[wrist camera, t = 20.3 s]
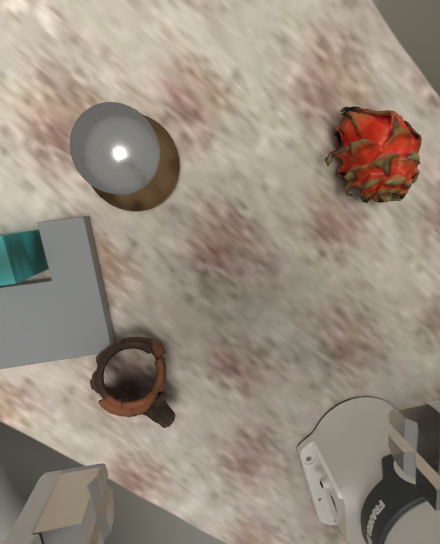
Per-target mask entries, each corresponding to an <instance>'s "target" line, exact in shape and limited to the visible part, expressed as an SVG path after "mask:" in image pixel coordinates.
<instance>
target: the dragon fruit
mask: <svg viewBox="0 0 440 544" xmlns="http://www.w3.org/2000/svg"><path fill="white" fill-rule="evenodd" d="M344 111H345V112H344ZM341 112H344V113H343V114H342V115H344V117H343V119H342V120H341V122H340V124H339V125H338V127H337V129H336V131H335V133H334V135H335V136H336V139H337V144H338V146H339V148H338V149H337V150H335V151H333V152H332V153H331V152H330V153H329V155H328V157H327V158H326V159H325V161H326V164H327V166H328V167H329V165H330V163H331V161H332V158H333V156H336V157H338V158H340V159H341V160H342V161H343V162H344V164H343V165H342V166H340V167H339V168H338V171H337V175H338V176H340V177H341V178H343V179H345V180H347V181H349V183H348V184H347V185H346V187H345V193H346V195H347V196H353V195H352V194H348V190H349V189H350V188H353V187H357V188H360V189H361V190H362V191H361V193H360V197H361V200H362V201H363V202H366V203H368V202H367V201H369V200H370V199H372V200H373V201H374V202H379V203H380V202H389V201H401V200H402V199H403V198H404V197H405V196H406V194H407V193H408V189H409V188H410V187H411V185H412V183H415V181H416V180H417V178H418V175H419V170H418V169H416V168H417V166H418V165H419V164H420V158H419V155H418V152H419V150H420V147H421V140H422V138H421V135H420V134H418V133H417V132H416V131H415V130H414V129H413V128H412V127H411V125H410V124H409V123H408V122H407V121H404V120H403V118H402V117H401V116H400V115H398V114H397V113H396V112H395V111H390V110H389V111H388V110H386V111H373V110H369V109H362V108H360V107H350V108H349V107H344V108H343V109H342V110H341ZM340 135H341V136H340ZM341 139H342V141H343V147H341V148H340V144H341ZM339 142H340V144H339ZM345 173H346V174H345Z"/></svg>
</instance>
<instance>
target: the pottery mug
mask: <svg viewBox="0 0 440 544" xmlns="http://www.w3.org/2000/svg"><path fill="white" fill-rule="evenodd" d="M132 348H133V349H134V348H135V349H140V350H143V351H145V352H147V353H148V354H150V353H152V354H153V355H154V357H155V359H156V361H155V364H156V368H157V377H156V381H155V383H154V385H153V387H152V388H151V390H150V391H149V392H148V393H147V394H146V395H145V396H143V397H141V398H139V399H136V400H121V399H119V398H117V397H115V396H114V395H113V394H112V393H111V392H110V391H109V389H108V388H107V387H105V384H104V369H105V366H106V364H107V363H108V361H109V360H110V359H111V357H112V356H114V355H115V354H116V353H118V352H120V351H122V350H125V349H132ZM164 353H166V351H165V349H164V348H163V347H162V346H161V345H160V344H159V343H158V342H157V341H153V340H152V339H151V338H145V337H128V338H123V339H121V341H120V342H118V341H116V342H114V343H113V344H111V345H110V346H109V347H107V348H106V349H105V350H104V351H103V352H101V353H100V354H99V355H98V356H97V357H96V362H97V365H98V367H97V370H96V371H95V372H94V373H93V375H92V379H91V380H90V384H91V388H92V389H93V390H95V391H96V392H97V393H99V394H100V395H101V397H102V398H103V399H102V400H100V401H99V404H100V405H101V407H102V408H103V409H105V410H106V411H108V412H109V413H112V414H114V415H118V416H126V417H132V416H137V415H141V414H144V415H146V416H147V417H149V418H150V419H152V420H153V421H154V422H156V423H158V424H160V425H161V426H162V427H163V428H166V427H169V426H170V425H171V424H172V423H173V421H174V420H175V413H174V412H173V410H172V409H171V408H170V407H169V406H168V404H167V403H166V401H165V396H166V393H165V392H164V390H163V388H164V384H165V379H166V363H165V359H164V357H163V354H164Z"/></svg>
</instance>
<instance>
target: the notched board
mask: <svg viewBox="0 0 440 544" xmlns="http://www.w3.org/2000/svg"><path fill="white" fill-rule="evenodd" d="M37 223H38V227H39V231H40V235H41V239H42V243H43V247H44V251H45V255H46V259H47V263H48V267H49V271H50V275H51V278H48V279H40V280H33V281H25V282H18V283H16V284H9V285H2V286H0V369H4V368H11V367H17V366H24V365H30V364H37V363H43V362H50V361H56V360H63V359H69V358H76V357H82V356H88V355H95V354H100V353H101V352H103V351H104V350H105V349H106V348H107V347H109V346H110V345H111V344H113V343H114V342H115V338H114V333H113V328H112V324H111V319H110V314H109V309H108V304H107V300H106V295H105V290H104V285H103V281H102V276H101V271H100V266H99V261H98V257H97V252H96V247H95V242H94V238H93V233H92V228H91V223H90V218H89V217H80V218H72V219H63V220H54V221H45V222H37Z"/></svg>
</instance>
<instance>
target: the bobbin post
mask: <svg viewBox="0 0 440 544" xmlns="http://www.w3.org/2000/svg"><path fill="white" fill-rule="evenodd" d="M70 151H71V156H72V160H73V162H74V164H75V167H76V168H77V170H78V172H79V173H80V174H81V176H82V177H83V178H84V179H85V180H86V181H87V182H88V183H89V184H91V186H92V187H93V189H94V190H95V191H96V193H97V194H98V195H99V196H100V197H101V198H103V199H104V200H105V201H106V202H108V203H109V204H111V205H113V206H115V207H117V208H120V209H124V210H129V211H141V210H147V209H151V208H153V207H156V206H158V205H159V204H161V203H162V202H164V201H165V200H166V199H167V198H168V197H169V196H170V194H171V193H172V192H173V190H174V188H175V186H176V184H177V181H178V177H179V168H180V166H179V157H178V152H177V149H176V146H175V144H174V142H173V140H172V138H171V136H170V135H169V134H168V132H167V131H166V130H165V129H164V128H163V127H162V126H161V125H160V124H159V123H157V122H156V121H155V120H153V119H151V118H149V117H147V116H145V115H142V114H141V113H139V112H138V111H137V110H135V109H133V108H132V107H130V106H127V105H125V104H121V103H115V102H106V103H100V104H97V105H94V106H92V107H90V108H89V109H87V110H86V111H84V112H83V113H82V114H81V115H80V117H79V118H78V119H77V121H76V122H75V124H74V126H73V129H72V132H71V136H70Z"/></svg>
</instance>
